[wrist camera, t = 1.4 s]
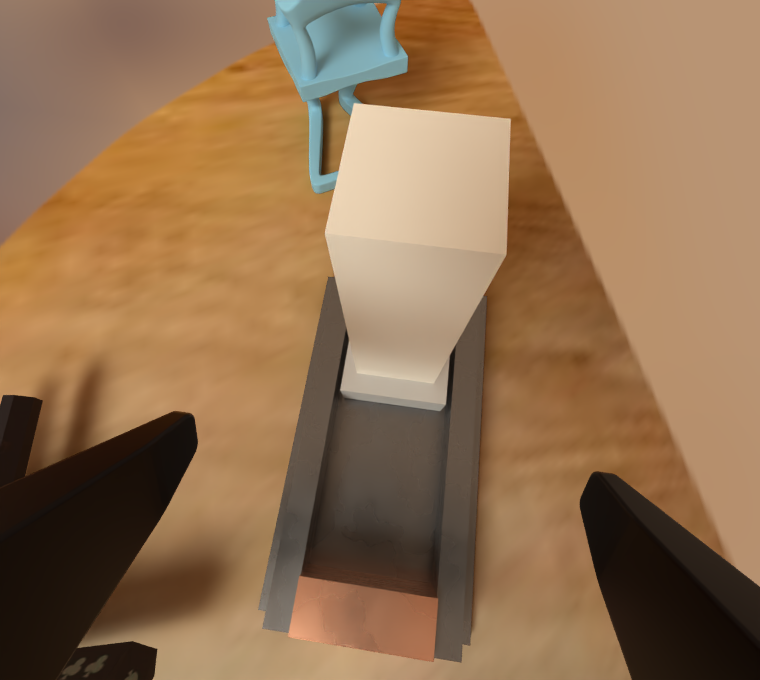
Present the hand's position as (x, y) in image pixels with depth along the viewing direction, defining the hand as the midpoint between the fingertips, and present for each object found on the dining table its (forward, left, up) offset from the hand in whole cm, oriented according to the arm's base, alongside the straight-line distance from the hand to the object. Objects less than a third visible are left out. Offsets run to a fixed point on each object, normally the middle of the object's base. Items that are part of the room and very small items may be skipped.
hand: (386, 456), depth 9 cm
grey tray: (+2, +1, -13) cm, 13 cm away
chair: (+17, +17, -13) cm, 27 cm away
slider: (+6, +3, -13) cm, 14 cm away
